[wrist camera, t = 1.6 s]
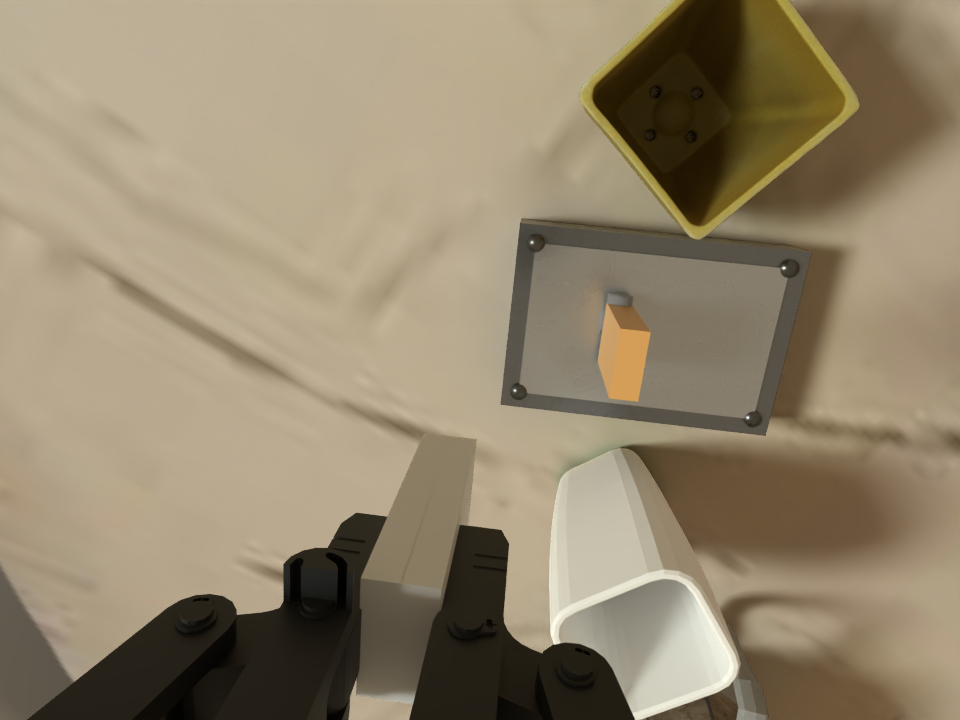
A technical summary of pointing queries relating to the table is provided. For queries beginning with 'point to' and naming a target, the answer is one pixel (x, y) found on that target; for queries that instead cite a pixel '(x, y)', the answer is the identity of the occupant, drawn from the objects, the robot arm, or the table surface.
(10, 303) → the table surface
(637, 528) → the cup
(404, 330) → the table surface
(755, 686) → the mug
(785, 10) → the flower pot
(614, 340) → the paddle
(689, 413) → the panel
